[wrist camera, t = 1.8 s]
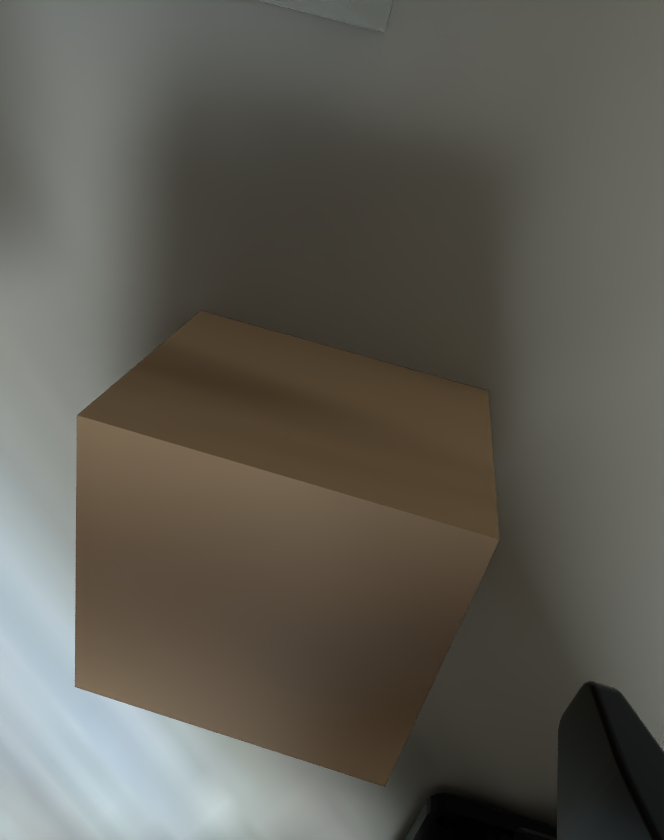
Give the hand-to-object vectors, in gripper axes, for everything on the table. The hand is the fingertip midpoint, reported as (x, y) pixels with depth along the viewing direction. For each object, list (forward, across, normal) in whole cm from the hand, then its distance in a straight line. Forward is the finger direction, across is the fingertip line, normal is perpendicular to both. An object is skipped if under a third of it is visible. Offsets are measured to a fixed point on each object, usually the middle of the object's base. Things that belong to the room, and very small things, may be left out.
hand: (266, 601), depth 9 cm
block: (+3, 0, 0) cm, 3 cm away
